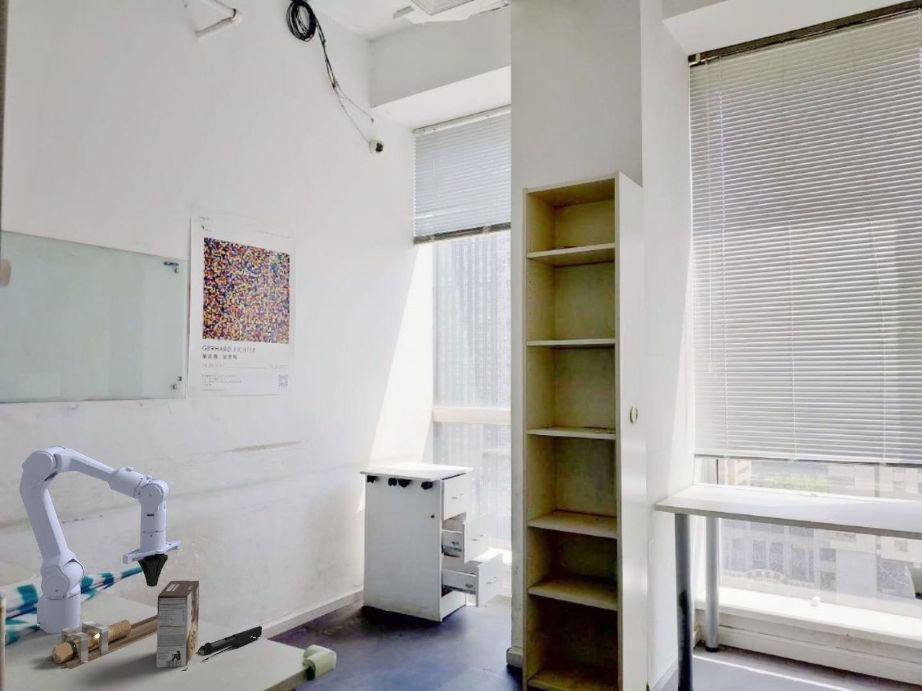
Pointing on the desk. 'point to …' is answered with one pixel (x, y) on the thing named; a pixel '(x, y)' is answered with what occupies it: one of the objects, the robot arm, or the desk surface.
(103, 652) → the board
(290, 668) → the desk surface
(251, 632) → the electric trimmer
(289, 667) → the desk surface
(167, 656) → the coffee box
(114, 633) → the thermos bottle
